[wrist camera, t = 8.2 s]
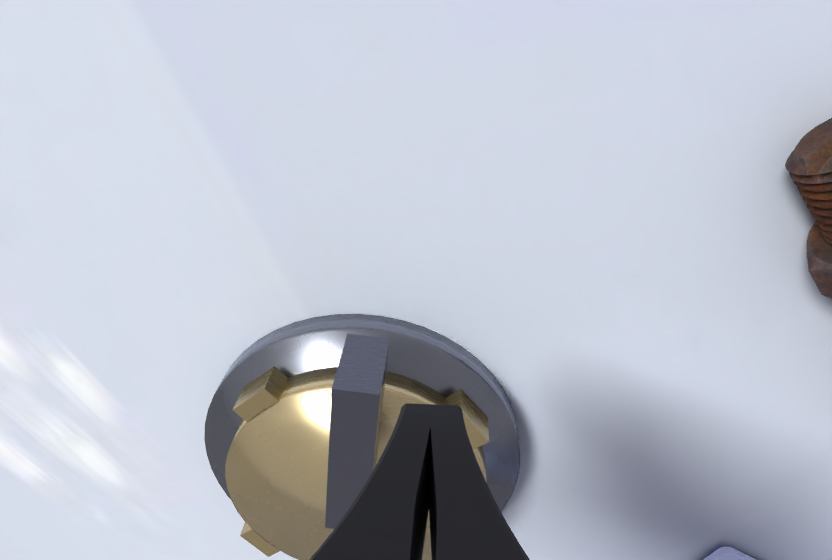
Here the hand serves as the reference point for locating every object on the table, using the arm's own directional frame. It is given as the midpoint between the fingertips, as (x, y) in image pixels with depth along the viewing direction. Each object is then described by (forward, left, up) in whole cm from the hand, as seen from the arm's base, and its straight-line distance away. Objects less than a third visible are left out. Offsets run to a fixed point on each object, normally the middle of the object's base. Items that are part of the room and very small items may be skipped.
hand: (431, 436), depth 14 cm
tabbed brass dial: (-2, +10, -8) cm, 13 cm away
